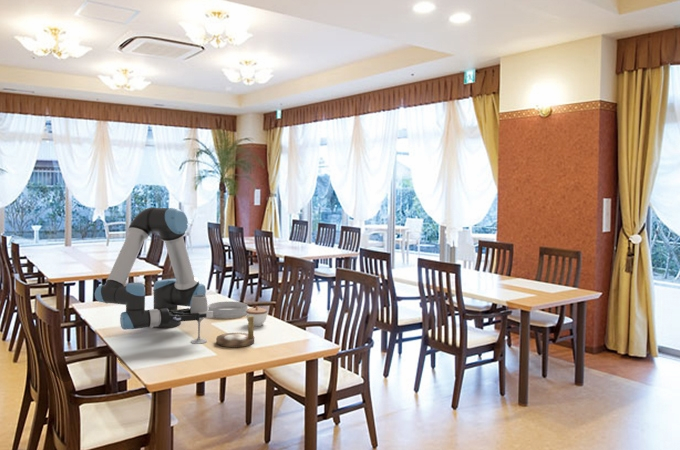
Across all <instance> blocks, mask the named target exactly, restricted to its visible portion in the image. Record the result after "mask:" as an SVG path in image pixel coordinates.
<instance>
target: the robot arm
mask: <svg viewBox="0 0 680 450" xmlns="http://www.w3.org/2000/svg"><path fill="white" fill-rule="evenodd" d="M188 224H189V221H188V217H187V215H186V213H185V212H184V211H183V210H181V208H173V207H169V208H168V207H167V208H166V207H148V208H145V209H143V210H142V211H140V212H139V213H138V214H137V215H136V216H135V217H134V218H133V219H132V220H131V222H130V224H129V226H128V228H127V233H128V234H127V235H126V238H125V240H124V242H123V244H122V247H121V249H120V251H119V253H118V256H117V258H116V260H115V262H114V264H113V266H112V269H111V271H110V273H109V274H108V277H107V279H106V282H105V284H101V285H99V286H97V287H96V288H95V292H94V298H95V300H96V301H97V302H99V303H104V304H114V305H115V304H116V305H124V306H125V311H122V312H120V315H119V323H120V327H121V329H123V330H136V329H144V328H151V329H153V328H158V329H166V328H167V329H168V328H173V327H178V326H180V325H181V324H182V322H191V321H194V322H195V321H196V320H198V321H199V319H202V318H204V319H209V318H210V319H211V318H214V317H213V311H209V312H199V313H191V302H192V297H193V296H194V295H206V291H207V288H206V285H205V284H203V283H200V282H199V279H198V277H197V276H195V274H194V272H193V269H192V265H191V261H190V258H189V253H188V251H187V249H188V248H187V247H186V242H185V240H184V236H185V234H186V232H187V229H188ZM152 233H157V234H158V236H159V238H160V240H161V241H163V242H164V244H165V246H166V250H167V254H168V258H169V262H170V263H171V267H172V271H173V273H174V274H173V275H174V277H175V278H164V279H160V280H156V281H155V282H154V283H153V309H152V308H151V309H146V302H145V301H146V289H145V288H146V287H145V284H144V283H143V282H129V283H126V282H127V280H128V278H129V275H130V274H131V271H132V269H133V267H134V265H135V262H136V260H137V257H138V255H139V253H140V251H141V248H142V247H143V244H144V242H145V240H147V239H149V236H150V235H151V234H152ZM125 284H126V285H125ZM178 306H180V307H181V306H182V307H187V308H180V309H179V308H178ZM198 321H197V322H198Z"/></svg>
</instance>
